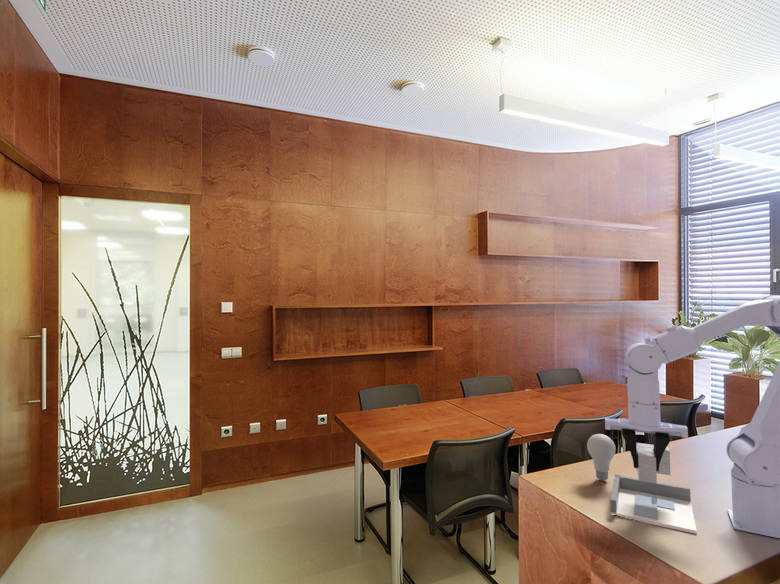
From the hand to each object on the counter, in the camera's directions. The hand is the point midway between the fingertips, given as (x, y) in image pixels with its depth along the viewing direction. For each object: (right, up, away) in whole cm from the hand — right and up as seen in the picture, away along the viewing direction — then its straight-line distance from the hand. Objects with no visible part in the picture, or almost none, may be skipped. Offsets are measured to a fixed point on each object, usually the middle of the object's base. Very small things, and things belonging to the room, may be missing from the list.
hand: (645, 467), depth 86 cm
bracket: (+2, -2, 0) cm, 2 cm away
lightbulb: (-2, -9, +14) cm, 17 cm away
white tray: (+1, -8, 0) cm, 8 cm away
